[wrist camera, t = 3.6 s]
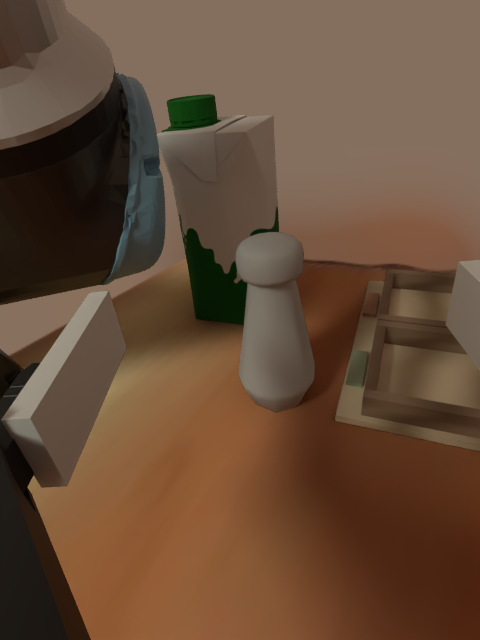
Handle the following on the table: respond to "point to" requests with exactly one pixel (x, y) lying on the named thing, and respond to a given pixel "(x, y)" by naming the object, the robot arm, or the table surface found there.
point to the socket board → (411, 364)
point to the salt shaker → (274, 322)
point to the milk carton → (219, 196)
